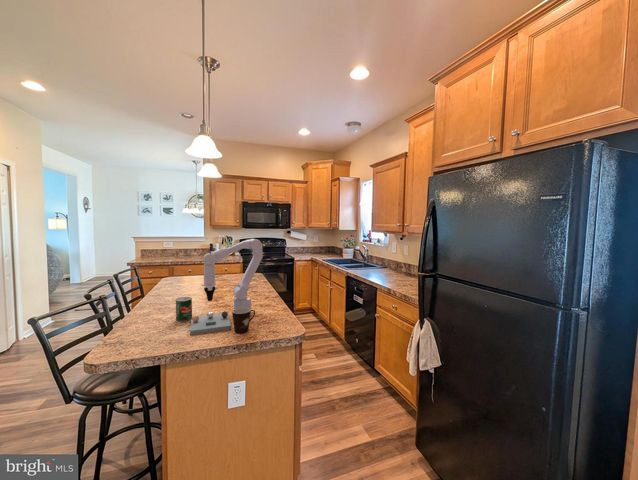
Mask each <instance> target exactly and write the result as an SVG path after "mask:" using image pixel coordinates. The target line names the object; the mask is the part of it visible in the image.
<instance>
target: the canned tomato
mask: <svg viewBox="0 0 638 480" xmlns="http://www.w3.org/2000/svg"><path fill="white" fill-rule="evenodd" d="M192 317H193V299H192V297H191V296H183V297H178V298H176V299H175V321H176V322H188V321H191V320H192Z"/></svg>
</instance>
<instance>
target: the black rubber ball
mask: <svg viewBox="0 0 638 480" xmlns="http://www.w3.org/2000/svg"><path fill="white" fill-rule="evenodd" d="M221 314H222V317H224V318H225V317H227V316H229V314H228V311H222V312H221Z"/></svg>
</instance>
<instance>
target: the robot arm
mask: <svg viewBox="0 0 638 480" xmlns="http://www.w3.org/2000/svg"><path fill="white" fill-rule="evenodd" d="M263 247H264V246H263V245H262V242H261V240H259V239H258V238H257V239H256V238H249V239H245V240H243V241H241V242H238V243H236V244H234V245H231V246H229V247H222V246H220V247H219V249H217V250H214V251H213V250H212V251H210V253H206V254H204V255H203V258H202V261H203V283H202V284H201V287H204V288H203V291H204V292H205V294H206V299H207V302H212V301H213V300H214V299H213V298H214V294H215V291H216V285H217V284H216V266H215V263H216V262H219V261H222V260H223V259H226V258H228V257H229V256H230V254H232V253H235V252H237V251H240V250H242V249H246V250H250V252H251V254H252V258H251V260H250V262H249V264H248V266H247V268H246V270H245V272H244V274H243V276H242V278H241V280H240V281H239V282H238V284H237V285H236V286H235V287H234V288H233V289H232V291H233V295H234V298H233V310H235V309H238V308H249V309H251V310H252V300H251V298H250V297H248V291H249V289H250V284H251V282H252V279H253V278H254V275H255V273H256V271H257V270H258V267H259V265H260V263H261V262H262V260H263V257H264V254H263V253H264V252H263ZM250 316H252V311H251V312H250Z"/></svg>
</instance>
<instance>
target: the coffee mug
mask: <svg viewBox="0 0 638 480" xmlns="http://www.w3.org/2000/svg"><path fill="white" fill-rule="evenodd" d="M250 312H251V313H252V312H253V314H252V317H251V315H250ZM231 314H232V322H233V328H234V333H235V334H237V335H242V334H243V335H244V334H246V333H248V332H249V330H250V329H249V328H250V322H251V321H252V320H253V319H254V317H255V316H256V315H255V314H256V311H255V310H254V309H252V308H251V309H249V308H238V309H235V310H234V309H233V310H232V311H231Z"/></svg>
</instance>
